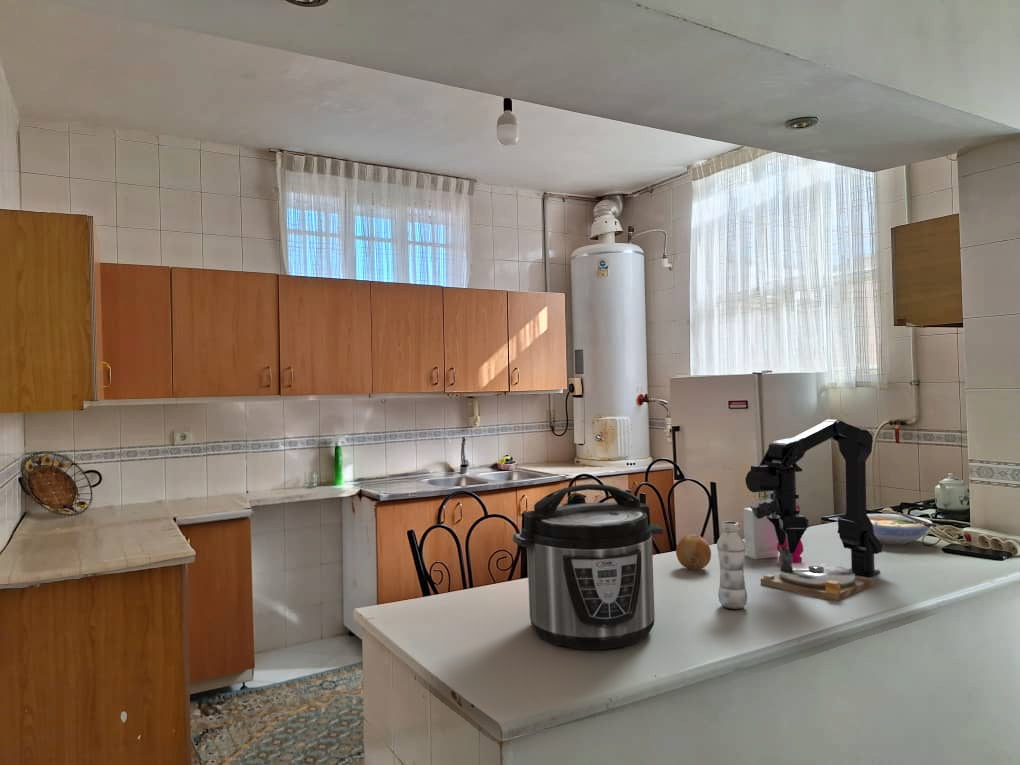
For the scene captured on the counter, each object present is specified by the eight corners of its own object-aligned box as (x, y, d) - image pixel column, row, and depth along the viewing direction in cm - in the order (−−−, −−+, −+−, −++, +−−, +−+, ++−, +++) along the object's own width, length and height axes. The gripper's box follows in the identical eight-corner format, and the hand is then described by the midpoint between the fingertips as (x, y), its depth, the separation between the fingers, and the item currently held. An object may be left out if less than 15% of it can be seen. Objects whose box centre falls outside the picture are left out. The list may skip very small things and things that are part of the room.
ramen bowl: (842, 534, 239) (841, 510, 239) (912, 534, 236) (912, 510, 236) (870, 550, 214) (869, 524, 214) (949, 551, 211) (948, 525, 211)
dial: (839, 569, 187) (838, 540, 187) (866, 588, 169) (865, 556, 169) (771, 568, 189) (770, 540, 189) (791, 587, 171) (790, 556, 171)
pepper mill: (806, 566, 197) (804, 496, 198) (779, 565, 199) (777, 496, 199) (800, 560, 205) (799, 493, 205) (775, 559, 206) (773, 492, 206)
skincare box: (767, 553, 214) (766, 505, 214) (779, 557, 208) (778, 508, 208) (743, 555, 212) (742, 507, 212) (754, 559, 206) (753, 510, 206)
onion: (707, 565, 201) (707, 530, 202) (714, 574, 192) (713, 538, 192) (674, 564, 202) (673, 530, 203) (679, 573, 193) (678, 538, 193)
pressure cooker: (501, 647, 141) (498, 492, 141) (545, 605, 167) (542, 475, 167) (648, 665, 130) (644, 497, 130) (670, 618, 156) (667, 478, 156)
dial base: (799, 570, 193) (799, 556, 193) (873, 584, 178) (872, 569, 178) (760, 584, 181) (760, 569, 181) (836, 601, 165) (835, 584, 165)
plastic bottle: (733, 613, 158) (731, 526, 158) (712, 605, 164) (710, 521, 164) (753, 609, 161) (751, 523, 161) (732, 601, 167) (730, 519, 167)
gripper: (744, 484, 190) (746, 541, 190) (762, 495, 172) (764, 557, 172) (786, 484, 189) (787, 541, 189) (808, 494, 171) (810, 557, 171)
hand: (786, 549), depth 180 cm, fingers open, 9 cm apart
